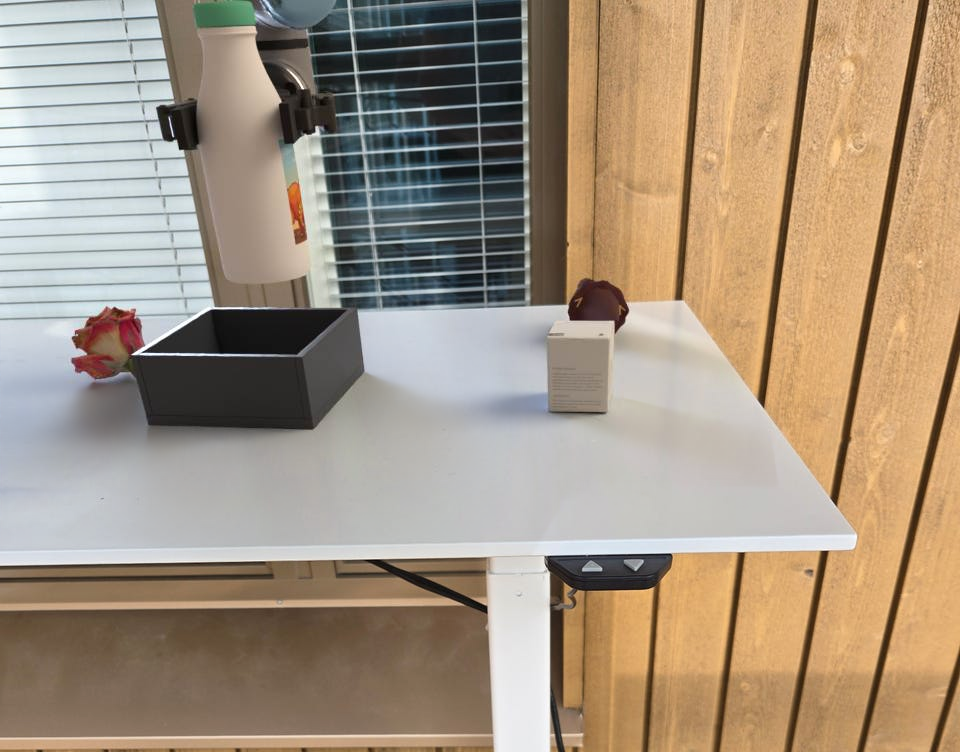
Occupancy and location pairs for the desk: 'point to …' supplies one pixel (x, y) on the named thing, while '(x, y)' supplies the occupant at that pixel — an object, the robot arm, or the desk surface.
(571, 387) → the white cardboard box
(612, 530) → the desk surface
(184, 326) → the black open box
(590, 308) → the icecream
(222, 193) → the milk bottle
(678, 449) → the desk surface
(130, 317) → the flower
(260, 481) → the desk surface
